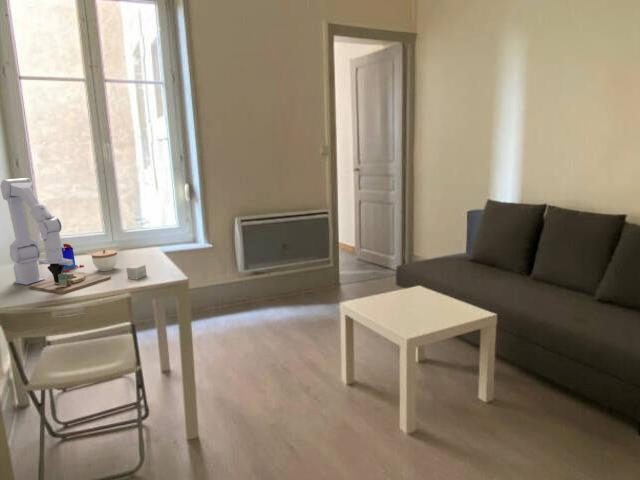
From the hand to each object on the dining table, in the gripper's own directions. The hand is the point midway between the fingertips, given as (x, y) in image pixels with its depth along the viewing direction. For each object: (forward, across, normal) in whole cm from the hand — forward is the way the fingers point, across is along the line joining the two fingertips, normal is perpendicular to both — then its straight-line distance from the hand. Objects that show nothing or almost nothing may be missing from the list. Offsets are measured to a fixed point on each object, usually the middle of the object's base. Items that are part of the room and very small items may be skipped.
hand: (58, 281), depth 184 cm
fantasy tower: (+3, -21, +28) cm, 35 cm away
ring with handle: (+1, 0, +5) cm, 5 cm away
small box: (+3, +23, +18) cm, 29 cm away
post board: (+3, -1, +7) cm, 8 cm away
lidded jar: (+3, 0, +29) cm, 29 cm away
